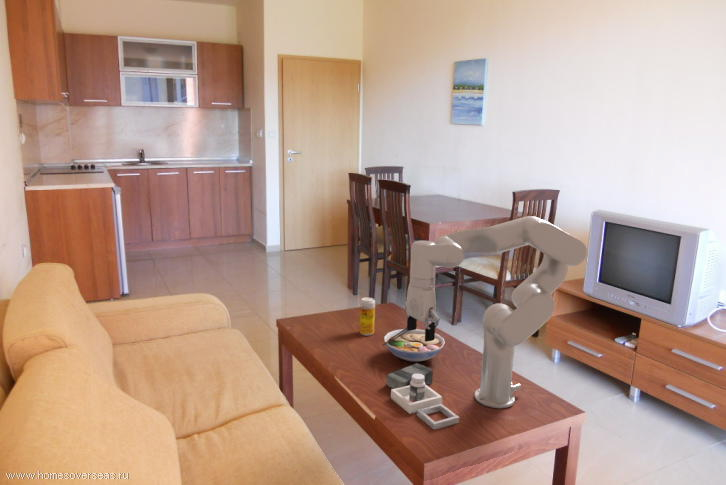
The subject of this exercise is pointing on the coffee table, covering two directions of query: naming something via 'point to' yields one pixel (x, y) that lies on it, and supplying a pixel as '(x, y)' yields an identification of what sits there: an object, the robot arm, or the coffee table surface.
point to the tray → (429, 400)
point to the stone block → (408, 376)
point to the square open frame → (442, 423)
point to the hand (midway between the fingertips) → (420, 335)
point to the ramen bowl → (413, 344)
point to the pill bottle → (417, 388)
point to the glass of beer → (367, 316)
